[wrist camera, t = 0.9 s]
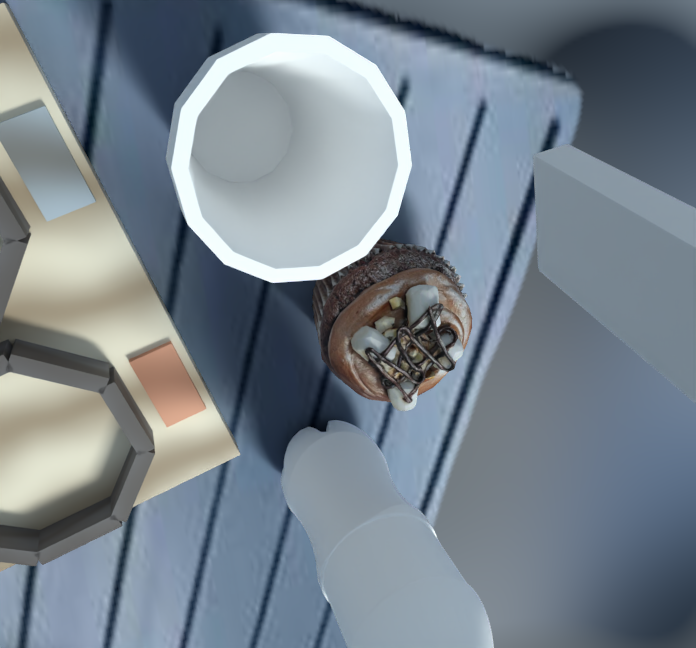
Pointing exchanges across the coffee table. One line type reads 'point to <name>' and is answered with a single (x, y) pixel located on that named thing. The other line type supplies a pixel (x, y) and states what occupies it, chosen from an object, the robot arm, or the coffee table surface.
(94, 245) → the socket board
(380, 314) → the cupcake
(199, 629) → the coffee table surface
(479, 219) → the coffee table surface
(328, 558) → the water bottle
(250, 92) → the foam cup
